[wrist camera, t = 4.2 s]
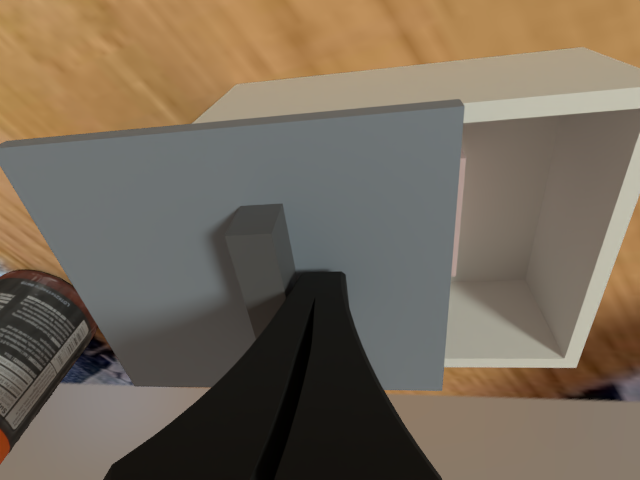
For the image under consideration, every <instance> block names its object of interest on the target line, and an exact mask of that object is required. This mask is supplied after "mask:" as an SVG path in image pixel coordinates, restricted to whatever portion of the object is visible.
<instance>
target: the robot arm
mask: <svg viewBox="0 0 640 480" xmlns="http://www.w3.org/2000/svg"><path fill="white" fill-rule="evenodd" d="M103 480H442V478H441V476H440V475H439V474H438V472H437V471H436V470H435V468H434V467H433V465H432V464H431V463H430V462H429V460H428V459H427V457H426V456H425V454H424V453H423V452H422V450H421V449H420V447H419V446H418V445H417V443H416V442H415V440H414V439H413V437H412V435H411V434H410V433H409V431H408V430H407V428H406V427H405V425H404V423H403V422H402V420H401V418H400V417H399V415H398V414H397V412H396V410H395V408H394V407H393V405H392V403H391V402H390V400H389V398H388V397H387V395H386V393H385V391H384V389H383V388H382V386H381V384H380V382H379V380H378V378H377V376H376V374H375V372H374V370H373V368H372V366H371V364H370V362H369V360H368V357H367V355H366V353H365V350H364V348H363V346H362V343H361V341H360V338H359V336H358V333H357V330H356V327H355V324H354V321H353V318H352V315H351V311H350V308H349V300H348V290H347V281H346V274H344V273H343V272H342V271H337V272H305V273H302V274H301V275H300V277H299V278H298V280H297V282H296V283H295V285H294V287H293V288H292V290H291V292H290V293H289V295H288V296H287V298H286V299H285V301H284V302H283V304H282V305H281V307H280V308H279V310H278V311H277V312H276V314H275V315H274V317H273V318H272V319H271V321H270V322H269V324H268V325H267V326H266V328H265V329H264V330H263V331H262V333H261V334H260V335H259V336H258V338H257V339H256V340H255V341H254V343H253V344H252V345H251V346H250V348H249V349H248V350H247V351H246V352H245V353H244V355H243V356H242V357H241V358H240V359H239V360H238V361H237V362H236V363H235V364H234V366H233V367H232V368H231V369H230V370H229V371H228V372H227V373H226V374H225V375H224V376H223V377H222V378H221V379H220V380H219V381H218V382H217V383H216V384H215V385H214V386H213V387H212V388H211V389H209V390H208V391H207V392H206V393H205V394H204V395H203V396H202V397H201V398H200V399H199V400H197V401H196V402H195V403H194V404H193V405H192V406H190V407H189V408H188V409H187V410H186V411H184V413H182V414H181V415H179V416H178V417H177V418H176V419H175V420H173V421H172V422H171V423H170V424H169V425H167V426H166V427H165V428H164V429H162V430H161V431H160V432H158V433H157V434H155V435H154V436H153V437H151V438H150V439H148V440H147V441H146V442H144V443H143V444H142V445H140V446H138V447H137V448H136V449H134V450H133V451H131V452H130V453H129V454H127V455H126V456H124V457H123V458H121V459H120V460H118V461H117V462H115V463H114V464H113V465H112V466H111V468H110V469H109V471H108V473H107V474H106V476H105V478H104V479H103Z"/></svg>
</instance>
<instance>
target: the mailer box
mask: <svg viewBox="0 0 640 480" xmlns="http://www.w3.org/2000/svg"><path fill="white" fill-rule="evenodd" d="M453 99H460V100H461V102H462V103H463V104H464V106H465V108H464V121H463V133H462V146H461V158H460V171H459V184H458V196H457V209H456V221H455V234H454V247H453V259H452V272H451V284H450V297H449V309H448V322H447V335H446V347H445V360H444V367H515V368H576V367H577V365H578V362H579V359H580V356H581V354H582V351H583V348H584V345H585V343H586V340H587V337H588V334H589V332H590V329H591V326H592V323H593V321H594V318H595V315H596V312H597V310H598V307H599V304H600V301H601V299H602V296H603V293H604V290H605V288H606V285H607V282H608V279H609V277H610V274H611V271H612V268H613V266H614V263H615V260H616V257H617V255H618V252H619V249H620V246H621V244H622V241H623V238H624V235H625V233H626V230H627V227H628V225H629V222H630V219H631V216H632V214H633V211H634V208H635V205H636V203H637V200H638V197H639V194H640V68H637V67H635V66H632V65H629V64H627V63H624V62H621V61H619V60H616V59H613V58H611V57H608V56H605V55H603V54H600V53H597V52H595V51H592V50H589V49H587V48H584V47H579V48H570V49H561V50H551V51H542V52H533V53H523V54H514V55H505V56H495V57H486V58H477V59H467V60H458V61H449V62H440V63H430V64H421V65H412V66H402V67H393V68H384V69H374V70H365V71H356V72H346V73H337V74H328V75H318V76H309V77H300V78H290V79H281V80H272V81H263V82H253V83H244V84H236V85H235V86H234V87H233V88H232V89H230V90H229V91H228V92H227V93H226V94H225V95H224V96H223V97H221V98H220V99H219V100H218V101H217V102H216V103H215V104H213V105H212V106H211V107H210V108H209V109H208V110H207V111H206V112H204V113H203V114H202V115H201V116H200V117H199V118H198V119H196V120H195V121H194V122H193V123H192V124H195V123H206V122H217V121H227V120H238V119H249V118H260V117H270V116H281V115H292V114H303V113H313V112H324V111H335V110H346V109H356V108H367V107H378V106H389V105H399V104H410V103H421V102H431V101H442V100H453Z"/></svg>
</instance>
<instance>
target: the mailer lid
mask: <svg viewBox="0 0 640 480" xmlns="http://www.w3.org/2000/svg"><path fill="white" fill-rule="evenodd" d="M464 108H465V106H464V104H463V103H462V102H461V100H460V99H453V100H442V101H431V102H421V103H410V104H399V105H389V106H378V107H367V108H356V109H346V110H335V111H324V112H313V113H303V114H292V115H281V116H270V117H260V118H249V119H238V120H227V121H217V122H206V123H195V124H185V125H174V126H163V127H152V128H142V129H131V130H120V131H109V132H99V133H88V134H77V135H66V136H56V137H45V138H34V139H24V140H13V141H6V142H4V143H1V144H0V166H1V168H2V170H3V171H4V173H5V175H6V176H7V178H8V179H9V181H10V183H11V184H12V186H13V188H14V189H15V191H16V193H17V194H18V196H19V197H20V199H21V201H22V202H23V204H24V206H25V207H26V209H27V211H28V212H29V214H30V216H31V217H32V219H33V220H34V222H35V224H36V225H37V227H38V229H39V230H40V232H41V234H42V235H43V237H44V238H45V240H46V242H47V243H48V245H49V247H50V248H51V250H52V252H53V253H54V255H55V257H56V258H57V260H58V261H59V263H60V265H61V266H62V268H63V270H64V271H65V273H66V275H67V276H68V278H69V279H70V281H71V283H72V284H73V286H74V288H75V289H76V291H77V293H78V294H79V296H80V298H81V299H82V301H83V302H84V304H85V306H86V307H87V309H88V311H89V312H90V314H91V316H92V317H93V319H94V320H95V322H96V324H97V325H98V327H99V329H100V330H101V332H102V334H103V335H104V337H105V339H106V340H107V342H108V343H109V345H110V347H111V348H112V350H113V352H114V353H115V355H116V357H117V358H118V360H119V361H120V363H121V365H122V366H123V368H124V370H125V371H126V373H127V375H128V376H129V378H130V380H131V381H132V383H133V384H134V386H152V387H213V386H214V385H215V384H216V383H217V382H218V381H219V380H220V379H221V378H222V377H223V376H224V375H225V374H226V373H227V372H228V371H229V370H230V369H231V368H232V367H233V366H234V364H235V363H236V362H237V361H238V360H239V359H240V358H241V357H242V356H243V355H244V353H245V352H246V351H247V350H248V349H249V348H250V346H251V345H252V344H253V343H254V341H255V340H256V339H257V338H258V336H259V335H260V334H261V333H262V331H263V330H264V329H265V328H266V326H267V325H268V324H269V322H270V321H271V319H272V318H273V317H274V315H275V314H276V312H277V311H278V310H279V308H280V307H281V305H282V304H283V302H284V301H285V299H286V298H287V296H288V295H289V293H290V292H291V290H292V288H293V287H294V285H295V283H296V282H297V280H298V278H299V277H300V275H301V274H302V273H305V272H337V271H342V272H343V273H344V274H346V281H347V290H348V300H349V308H350V311H351V315H352V318H353V321H354V324H355V327H356V330H357V333H358V336H359V338H360V341H361V343H362V346H363V348H364V350H365V353H366V355H367V357H368V360H369V362H370V364H371V366H372V368H373V370H374V372H375V374H376V376H377V378H378V380H379V382H380V384H381V386H382V388H383V389H384V390H429V391H442V385H443V372H444V360H445V347H446V335H447V322H448V309H449V297H450V284H451V272H452V259H453V247H454V234H455V221H456V209H457V196H458V184H459V171H460V158H461V146H462V133H463V121H464Z"/></svg>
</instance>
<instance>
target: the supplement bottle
mask: <svg viewBox="0 0 640 480" xmlns="http://www.w3.org/2000/svg"><path fill="white" fill-rule="evenodd" d="M97 328H98V325H97V324H96V322H95V320H94V319H93V317H92V316H91V314H90V312H89V311H88V309H87V307H86V306H85V304H84V302H83V301H82V299H81V298H80V296H79V294H78V293H77V291H76V289H75V288H74V287H73V286H71V285H70V284H69V283H67V282H65V281H64V280H62V279H61V278H58V277H55V276H52V275H49V274H46V273H43V272H38V271H31V270H19V271H12V272H9V273H6V274H4V275H2V276H1V277H0V464H1V463H2V461H3V460H4V458H5V457H6V456H7V454H8V453H9V452H10V451H11V449H12V448H13V446H14V445H15V443H16V442H17V441H18V440H19V439H20V437H21V435H22V434H23V433H24V431H25V430H26V429H27V428H28V426H29V424H30V423H31V422H32V420H33V419H34V418H35V417H36V415H37V414H38V413H39V411H40V409H41V408H42V407H43V405H44V404H45V403H46V402H47V400H48V399H49V398H50V396H51V395H52V393H53V392H54V391H55V389H56V388H57V386H58V385H59V383H60V382H61V381H62V379H63V378H64V377H65V376H66V374H67V373H68V371H69V370H70V369H71V367H72V366H73V364H74V363H75V362H76V360H77V359H78V358H79V357H80V355H81V354H82V352H83V351H84V349H85V348H86V347H87V346H88V344H89V343H90V340H91V339H92V338H93V336H94V335H95V332H96V330H97Z"/></svg>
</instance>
